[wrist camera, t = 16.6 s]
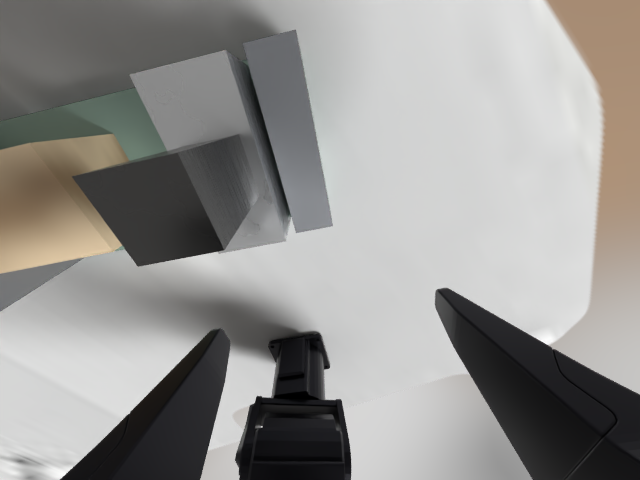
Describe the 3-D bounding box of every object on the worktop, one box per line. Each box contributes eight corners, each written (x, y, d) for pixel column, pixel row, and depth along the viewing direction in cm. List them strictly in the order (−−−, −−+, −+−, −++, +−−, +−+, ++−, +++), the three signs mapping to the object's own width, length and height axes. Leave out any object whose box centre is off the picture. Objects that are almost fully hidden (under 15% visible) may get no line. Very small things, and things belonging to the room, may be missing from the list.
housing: (162, 216, 18) (113, 251, 13) (69, 236, 18) (-7, 275, 14) (113, 133, 15) (29, 143, 10) (4, 159, 15) (-119, 178, 11)
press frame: (328, 202, 19) (338, 260, 12) (70, 253, 21) (-65, 332, 13) (300, 52, 14) (286, -13, 7) (-35, 135, 16) (-339, 156, 8)
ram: (291, 211, 17) (270, 312, 9) (239, 222, 18) (168, 329, 9) (252, 68, 13) (127, -20, 4) (183, 85, 13) (-63, 36, 5)
